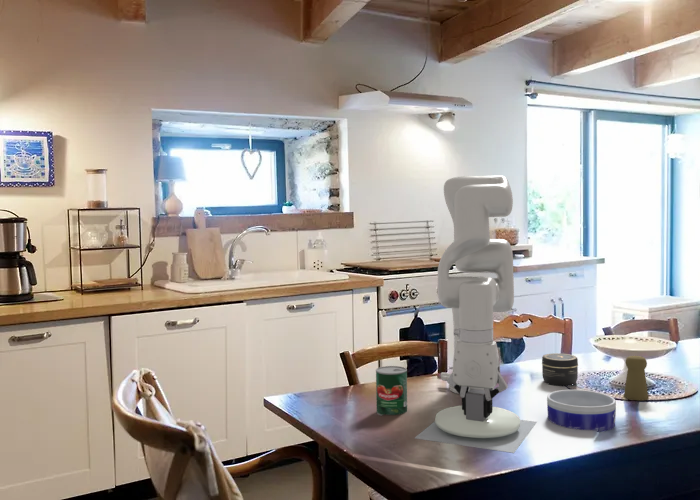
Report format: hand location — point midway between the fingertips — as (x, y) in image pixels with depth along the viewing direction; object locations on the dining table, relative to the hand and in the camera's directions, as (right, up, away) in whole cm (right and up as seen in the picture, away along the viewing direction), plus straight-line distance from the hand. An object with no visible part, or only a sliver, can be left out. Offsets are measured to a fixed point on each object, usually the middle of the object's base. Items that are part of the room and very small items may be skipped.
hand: (477, 413), depth 150 cm
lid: (0, -2, 0) cm, 2 cm away
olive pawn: (+47, -2, +25) cm, 53 cm away
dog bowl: (+26, -4, +5) cm, 26 cm away
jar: (+32, -1, +41) cm, 52 cm away
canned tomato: (-18, -4, +16) cm, 25 cm away
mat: (0, -4, 0) cm, 4 cm away
